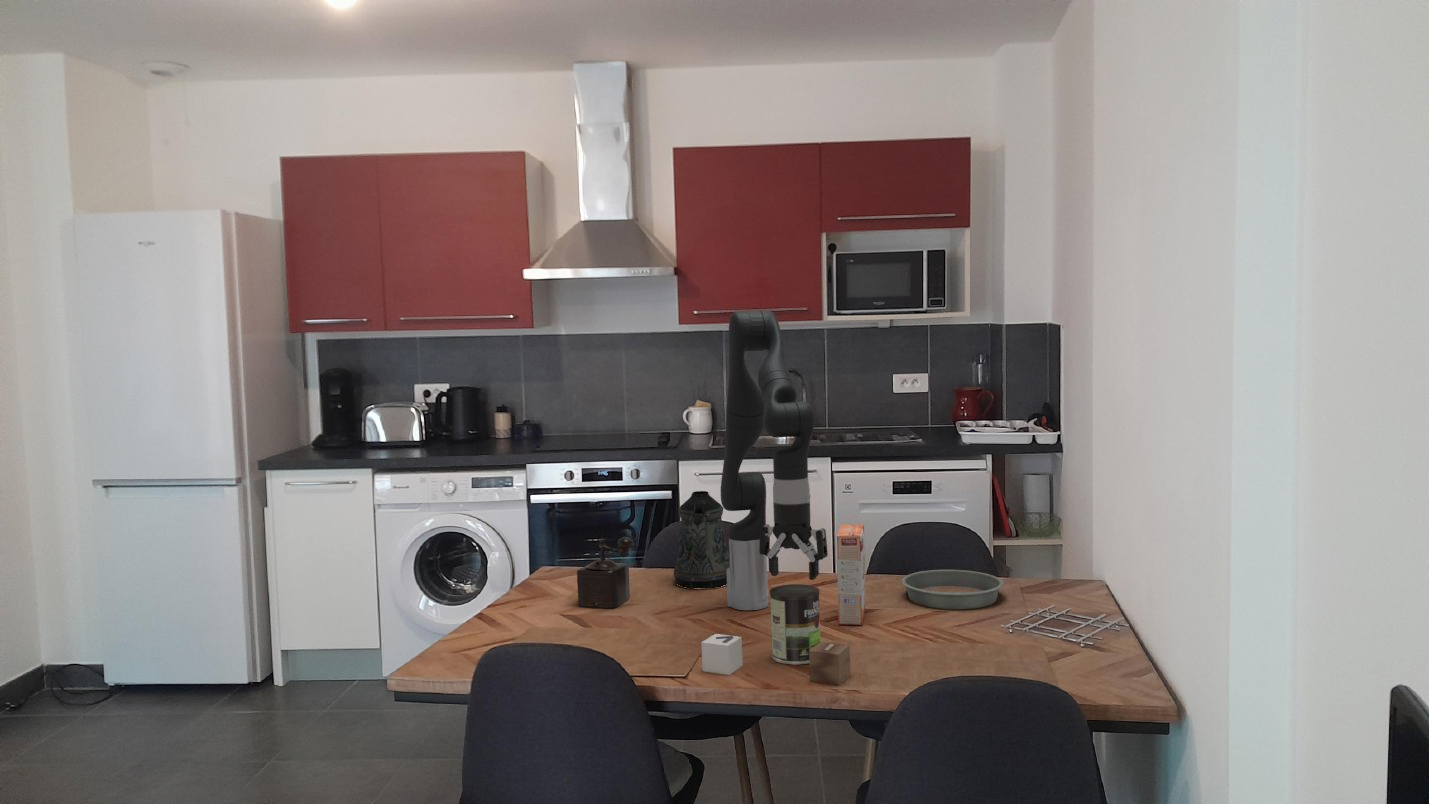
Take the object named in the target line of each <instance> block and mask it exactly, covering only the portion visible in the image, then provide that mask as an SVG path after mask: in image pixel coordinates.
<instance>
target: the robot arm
mask: <svg viewBox="0 0 1429 804" xmlns="http://www.w3.org/2000/svg"><path fill="white" fill-rule="evenodd" d="M728 322H729V323H728V383H727V384H728V385H727V397H726V407H725V408H726V412H725V441H724V442H725V444H724V446H725V447H724V457H723V463H722V464H723V465H722V473H721V480H720V481H721V482H720V502H721V506H722V507H723V510H726V511H728V512H729V511H730V512H739V511H740V512H741V511H749V513H748V514H747V515H746V516H745V517H744V518H742V519H741V520H739V521H737V522H734V523H732V524H730V526H729V527H728V554H729V561H730V567H729V568H727V586H726V593H727V594H726V596H727V597H726V598H727V607H729V608H732V609H735V610H739V611H756V610H757V611H758V610H763V609H765V608H767V607H769V591H768V589H769V588H768V587H769V586H768V571H769V573H770V574H771V577H776V576H778V575H779V572H780V571H779V557H778V554H779V552H780V551H781V550H782V549H787V550H788V549H793V550H796V551H797V550H801V552H802V553H803V554H805V556H806V557H807V558H808V560H809V561H808V573H809V574H808V575H809V576H808V579H809V580H810V581H814V580H815V579H817V577H818V576H819V574H820V569H819V567H820V566H819V565H820V564H819V562H820V561H822V560H824V559H825V558H827V557H828V555H829V553H828V544H827V531H826V529H825V528H824V527H823V528H819V529H813V528H812V525H811V493H810V491H811V490H810V481H809V470H808V469H809V468H808V467H809V465H808V463H809V462H808V461H809V460H808V458H809V457H808V456H809V452H810V445H811V440H812V436H813V432H814V429H815V425H816V414H815V413H816V412H815V411H814V408H813V407H812V405H811V404H809V403H808V402H806V401H797V395H798V394H797V391H796V390H797V389H796V387H795V385H794V382H793V380H792V377H791V375H790V372H789V369H788V368H789V367H788V364H787V360H786V355H785V348H784V344H783V339H782V333H781V328H780V327H781V326H780V325H779V320H778V318H777V316H776V314H775V313H774V312H772V311H771V310H764V309H762V310H761V309H760V310H738V311H734V312H732V314H731V315H730V318H729V321H728ZM758 351H759V352H763V351H768V353H767V355H766V357H765V358H764V359H763V361H762V363H761V365H760V367H759V369H758V373H757V382H758V383H756V382H755V380H754V379H753V377H752V376H751V374H750V372H749V370H748V367H747V366H746V365H747V364H746V362H745V361H746V360H745V352H758ZM757 384H758V385H757ZM796 401H797V402H796ZM764 430H765V432H766V434H768V436H770V437H772V438H775V439H776V438H777V439H779V438H793V437H795V439H794V440H793V442H792V444H791V445H789V446H787V447H783V448H780V449H777V450H775V451H774V453H773V458H772V463H773V467H772V469H773V483H772V484H773V485H772V498H773V499H772V501H773V502H772V504H773V522H774V523H773V524H774V525H773V526H770V524H768V523H767V517H766V516H767V515H766V514H767V513H766V511H767V508H766V506H767V485H766V481H765V477H764V475H763V474H762V473H761V472H758V471H750V472H740V470H741V469H740V468H741V465H742V462H744V461H743V460H744V459H745V457H746V455H747V454H748V453H749V452H750V450H751V449H752V448H753V447H754V445H755V444H756V443H757V441H758V440H759V438H760V436H761V435H762V433H763V431H764ZM772 534H773V535H774V538H776V540H775V542H774V543H773V544H772V546H771V545H770V544H771V542H770V541H771V539H770V538H771V536H772ZM812 536H813V539H814V540H815V542H816V548H815V546H814V544H813V543H812V541H811V540H810V539H811V537H812ZM770 546H771V547H770ZM767 558H768V561H767Z"/></svg>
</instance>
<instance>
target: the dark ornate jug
mask: <svg viewBox="0 0 1429 804" xmlns="http://www.w3.org/2000/svg"><path fill="white" fill-rule="evenodd" d="M677 512H678V516H679V518H680V529H679V537H678V549H677V557H676V564H675V566H674V569H673V571H672V572H673V573H672V574H673V577H674V580H675V584H678V585H680V586H682V587H687V588H715V587H721V586H723V585H726V584H727V568H729V567H730V561H729V549H728V546H727V541H726V535H725V531H724V525H723V522H722V521H723V520H722V516H723V513H724V507H723V505H722V503H719V502H718V501H717V500H716V499H715V498H713V497H712V496H711V495H710V493H709V492H708V491H706V490H699V491H698V490H697V491H692V493H691V496H690V497H689V498H688V499H687V500H686V501H684V502H683V503H681V505H680V506H679V508H678V510H677ZM721 588H722V587H721ZM715 589H716V588H715Z"/></svg>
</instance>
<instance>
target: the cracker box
mask: <svg viewBox="0 0 1429 804" xmlns="http://www.w3.org/2000/svg"><path fill="white" fill-rule="evenodd" d="M865 555H866V554H865V525H864V524H857V523H856V524H845V523H844V524H840V527H839V529H838V532H837V535H836V563H837V571H836V572H837V615H838V616H837V621H838V622H837V623H838V625H843V626H844V625H846V626H863V623H864V622H863V621H864V619H865V618H864V617H865V611H866V566H865V565H866V557H865Z"/></svg>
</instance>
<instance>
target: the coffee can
mask: <svg viewBox="0 0 1429 804" xmlns="http://www.w3.org/2000/svg"><path fill="white" fill-rule="evenodd" d="M768 594H769V596H770V599H769V600H770V623H771V624H770V625H771V627H770V630H771V648H772V649H771V652H772V653H771V658H772V659H773V661H774V662H777V663H780V664H783V665H784V664H785V665H793V666H795V665H808V664H809V665H810V663H809V650H811V649H812V648H813V647H815V646H816V645H817V644H818V643H820V642H821V620H820V619H821V618H820V617H821V616H820V615H821V614H820V589H819V588H818V587H816V586H813V585H809V584H802V583H801V584H799V583H798V584H797V583H796V584H795V583H794V584H793V583H792V584H783V585H777V586H774V587H771V588H770V589H769V591H768Z"/></svg>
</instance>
